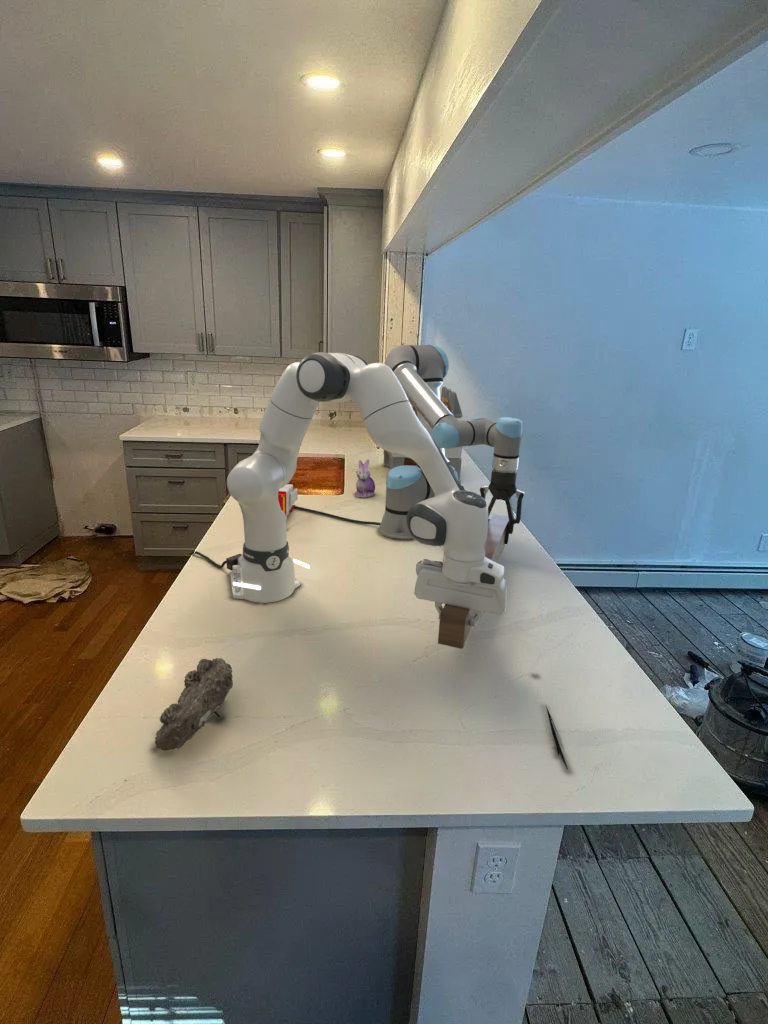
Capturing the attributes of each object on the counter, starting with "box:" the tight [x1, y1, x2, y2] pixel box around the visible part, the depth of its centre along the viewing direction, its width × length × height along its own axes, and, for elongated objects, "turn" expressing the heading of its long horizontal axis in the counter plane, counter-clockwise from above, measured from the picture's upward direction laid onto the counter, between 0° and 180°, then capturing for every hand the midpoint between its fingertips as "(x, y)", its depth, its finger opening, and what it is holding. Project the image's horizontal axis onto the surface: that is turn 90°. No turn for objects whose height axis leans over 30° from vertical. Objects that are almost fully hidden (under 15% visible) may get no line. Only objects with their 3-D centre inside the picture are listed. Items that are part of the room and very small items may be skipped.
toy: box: [278, 483, 299, 518], centre depth 210 cm, size 12×13×30 cm
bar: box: [437, 513, 509, 650], centre depth 152 cm, size 69×6×7 cm, turn 161°
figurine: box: [355, 459, 376, 499], centre depth 237 cm, size 9×10×15 cm
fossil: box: [154, 657, 234, 752], centre depth 107 cm, size 22×10×15 cm
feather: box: [535, 673, 569, 770], centre depth 112 cm, size 2×28×2 cm
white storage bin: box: [383, 386, 466, 483], centre depth 268 cm, size 34×33×41 cm
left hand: (457, 622), depth 127 cm, fingers closed on bar, 5 cm apart
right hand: (496, 540), depth 179 cm, fingers closed on bar, 5 cm apart
